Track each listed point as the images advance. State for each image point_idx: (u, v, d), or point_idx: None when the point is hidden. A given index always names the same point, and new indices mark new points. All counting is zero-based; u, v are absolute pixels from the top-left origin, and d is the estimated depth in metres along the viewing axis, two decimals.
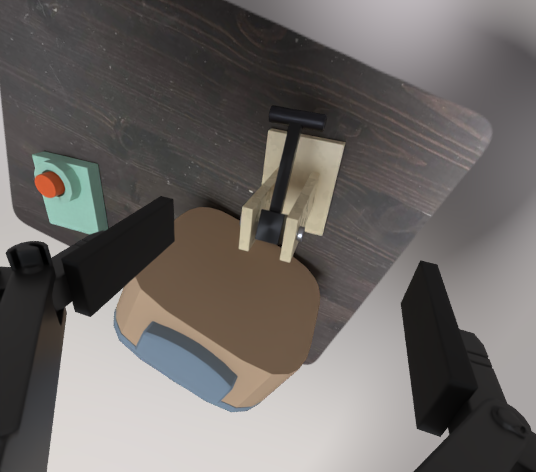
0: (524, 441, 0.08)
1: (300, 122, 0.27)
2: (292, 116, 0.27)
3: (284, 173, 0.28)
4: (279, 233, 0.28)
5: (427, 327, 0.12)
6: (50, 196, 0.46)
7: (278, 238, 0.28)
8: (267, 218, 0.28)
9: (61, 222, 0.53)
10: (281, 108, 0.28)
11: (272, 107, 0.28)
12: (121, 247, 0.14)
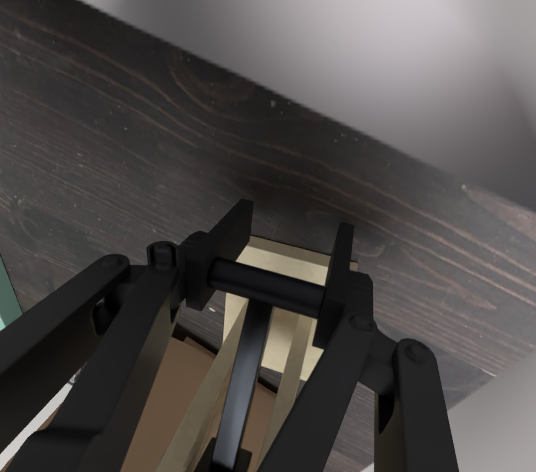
0: (372, 333, 0.10)
1: (271, 302, 0.13)
2: (254, 290, 0.13)
3: (239, 399, 0.14)
4: None
5: (330, 269, 0.14)
6: None
7: None
8: None
9: None
10: (231, 268, 0.13)
11: (213, 266, 0.13)
12: (223, 247, 0.15)
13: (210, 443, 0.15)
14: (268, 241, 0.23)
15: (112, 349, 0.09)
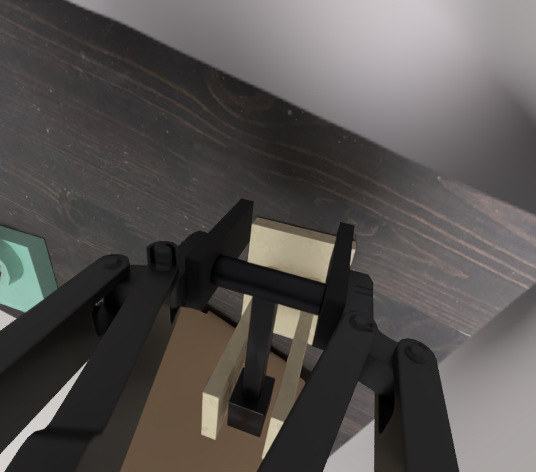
0: (373, 333, 0.10)
1: (272, 302, 0.14)
2: (255, 293, 0.13)
3: (256, 361, 0.16)
4: (260, 429, 0.19)
5: (330, 269, 0.14)
6: None
7: (259, 432, 0.19)
8: (239, 412, 0.18)
9: (5, 301, 0.43)
10: (231, 273, 0.13)
11: (214, 271, 0.14)
12: (223, 247, 0.15)
13: (241, 373, 0.19)
14: (283, 224, 0.28)
15: (112, 349, 0.09)
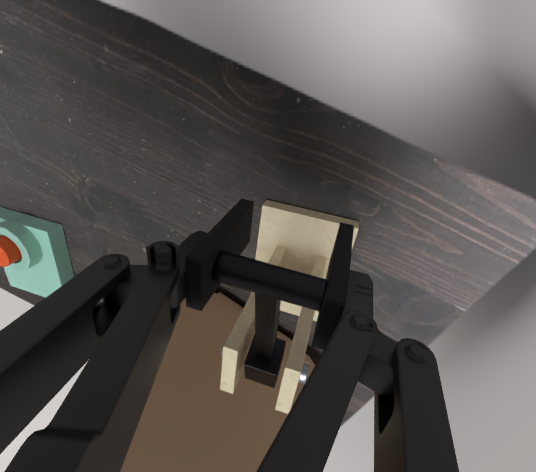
0: (372, 333, 0.10)
1: (274, 298, 0.14)
2: (256, 291, 0.14)
3: (265, 337, 0.17)
4: (273, 383, 0.21)
5: (330, 269, 0.14)
6: (3, 265, 0.39)
7: (273, 384, 0.21)
8: (254, 371, 0.20)
9: (22, 286, 0.45)
10: (232, 273, 0.14)
11: (215, 271, 0.14)
12: (223, 247, 0.15)
13: (254, 337, 0.21)
14: (291, 206, 0.30)
15: (112, 349, 0.09)
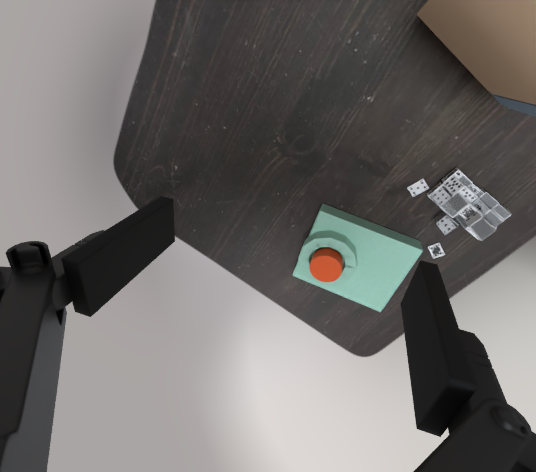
0: (524, 441, 0.08)
1: None
2: None
3: None
4: None
5: (427, 327, 0.12)
6: (339, 270, 0.34)
7: None
8: None
9: (384, 295, 0.38)
10: None
11: None
12: (121, 247, 0.14)
13: None
14: None
15: None
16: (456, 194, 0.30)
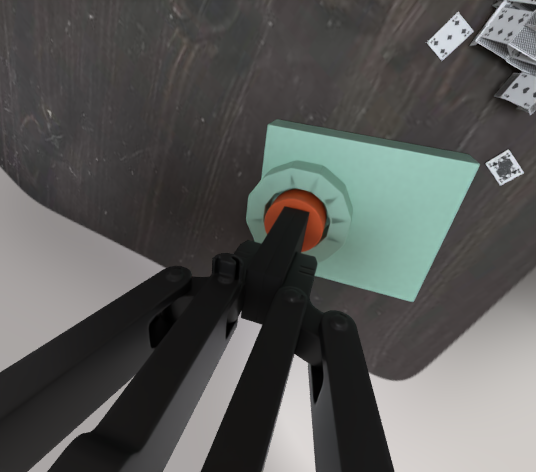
0: (304, 304, 0.11)
1: None
2: None
3: None
4: None
5: None
6: (318, 224, 0.18)
7: None
8: None
9: (414, 270, 0.21)
10: None
11: None
12: None
13: None
14: None
15: (165, 359, 0.09)
16: None
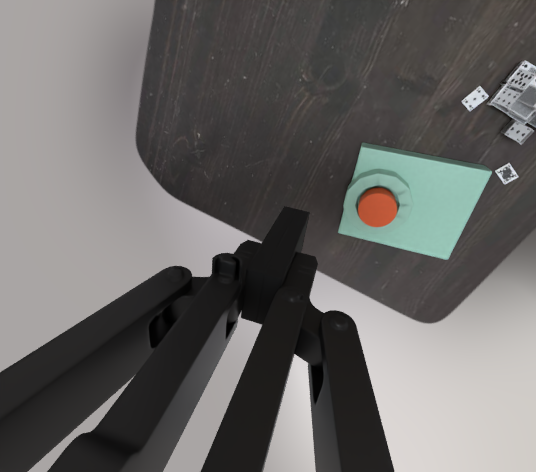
0: (304, 304, 0.11)
1: None
2: None
3: None
4: None
5: None
6: (394, 209, 0.30)
7: None
8: None
9: (449, 238, 0.33)
10: None
11: None
12: None
13: None
14: None
15: (165, 359, 0.09)
16: (528, 87, 0.25)
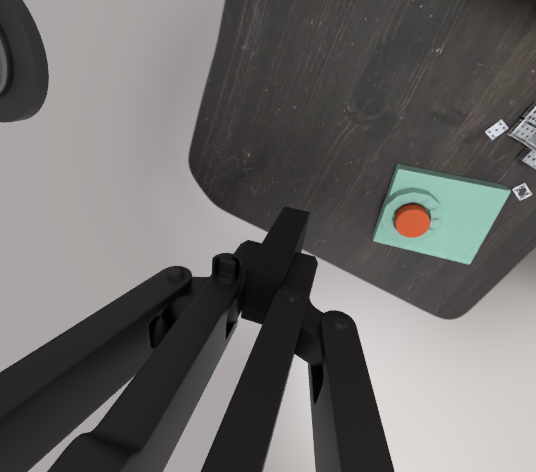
0: (304, 304, 0.11)
1: None
2: None
3: None
4: None
5: None
6: (427, 222, 0.35)
7: None
8: None
9: (472, 246, 0.38)
10: None
11: None
12: None
13: None
14: None
15: (165, 359, 0.09)
16: None
